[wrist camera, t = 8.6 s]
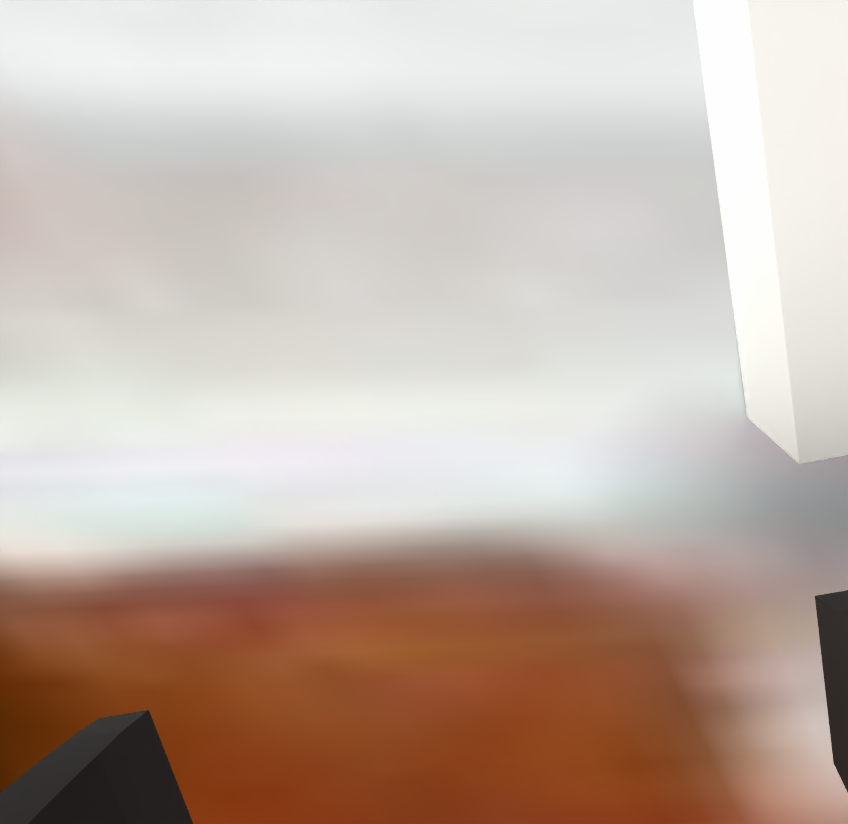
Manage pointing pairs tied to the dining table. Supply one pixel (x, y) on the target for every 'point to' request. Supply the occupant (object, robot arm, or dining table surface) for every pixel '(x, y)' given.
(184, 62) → the dining table surface
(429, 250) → the dining table surface
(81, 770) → the robot arm
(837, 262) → the base block
